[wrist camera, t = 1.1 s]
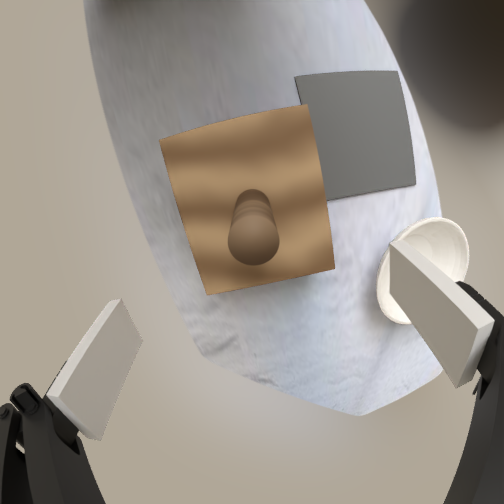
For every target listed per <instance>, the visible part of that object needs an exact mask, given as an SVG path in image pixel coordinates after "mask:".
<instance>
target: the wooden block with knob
mask: <svg viewBox="0 0 504 504" xmlns="http://www.w3.org/2000/svg"><path fill="white" fill-rule="evenodd" d="M159 142H160V146H161V150H162V154H163V157H164V161H165V165H166V168H167V172H168V175H169V179H170V182H171V186H172V189H173V193H174V196H175V199H176V203H177V206H178V209H179V213H180V216H181V219H182V222H183V225H184V229H185V232H186V235H187V238H188V241H189V244H190V247H191V250H192V253H193V256H194V259H195V262H196V265H197V268H198V271H199V274H200V277H201V280H202V282H203V285H204V288H205V291H206V294H207V295H212V294H217V293H223V292H228V291H233V290H238V289H243V288H248V287H253V286H258V285H263V284H268V283H273V282H277V281H282V280H287V279H292V278H296V277H301V276H305V275H310V274H314V273H319V272H323V271H328V270H332V269H335V263H334V254H333V245H332V237H331V229H330V222H329V215H328V208H327V202H326V195H325V189H324V183H323V177H322V172H321V166H320V161H319V156H318V151H317V146H316V141H315V136H314V131H313V127H312V122H311V118H310V113H309V109H308V105H307V104H305V105H299V106H292V107H286V108H281V109H275V110H270V111H265V112H260V113H255V114H250V115H246V116H241V117H237V118H233V119H229V120H225V121H221V122H217V123H213V124H210V125H206V126H202V127H199V128H195V129H192V130H189V131H185V132H182V133H179V134H176V135H173V136H170V137H167V138H164V139H161V140H159Z"/></svg>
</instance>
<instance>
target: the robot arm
mask: <svg viewBox="0 0 504 504" xmlns="http://www.w3.org/2000/svg"><path fill="white" fill-rule="evenodd" d="M389 250H390V288H389V293H390V295H391V296H392V297H393V299H394V300H395V301H396V302H397V304H398V305H399V306H400V308H401V309H402V310H403V312H404V313H405V314H406V316H407V317H408V318H409V320H410V321H411V323H412V324H413V325H414V327H415V328H416V329H417V331H418V332H419V334H420V335H421V336H422V338H423V339H424V341H425V342H426V344H427V345H428V346H429V348H430V349H431V351H432V352H433V354H434V355H435V357H436V358H437V360H438V361H439V363H440V364H441V366H442V367H443V369H444V370H445V372H446V373H447V375H448V376H449V378H450V380H451V381H452V383H453V384H454V386H455V388H458V387H460V386H462V385H464V384H466V383H467V382H469V381H471V380H472V379H473V376H474V374H475V372H476V370H477V369H478V371H479V372H480V374H481V377H480V379H479V381H478V383H477V385H476V387H475V389H474V391H473V394H474V395H475V393H476V391H477V396H476V402H475V407H474V411H473V417H472V421H471V425H470V429H469V433H468V437H467V440H466V444H465V447H464V451H463V454H462V457H461V460H460V463H459V466H458V469H457V472H456V474H455V477H454V480H453V482H452V485H451V487H450V490H449V492H448V494H447V497H446V499H445V501H444V503H443V504H504V317H503V315H502V314H501V313H500V312H499V311H497V310H496V309H495V308H494V307H493V306H492V305H491V304H490V303H489V302H488V301H487V300H486V299H485V300H484V298H483V297H482V296H481V295H480V294H478V292H477V291H476V290H474V288H472V287H471V286H470V285H468V284H466V283H464V282H461V281H458V282H454V281H453V280H452V279H451V278H449V277H448V276H447V275H446V274H445V273H444V272H442V271H441V270H440V269H439V268H438V267H437V266H435V265H434V264H433V263H432V262H431V261H429V260H428V259H427V258H426V257H424V256H423V255H422V254H421V253H420V252H418V251H417V250H416V249H414V248H413V247H412V246H411V245H409V244H408V243H407V242H406V241H404V240H399V241H395V242H391V243H389ZM142 342H143V340H142V338H141V336H140V334H139V332H138V331H137V329H136V327H135V325H134V323H133V321H132V319H131V317H130V315H129V313H128V311H127V309H126V307H125V305H124V303H123V301H122V299H116V300H110V301H109V303H108V304H107V305H106V306H105V308H104V309H103V311H102V312H101V313H100V315H99V316H98V317H97V319H96V320H95V321H94V323H93V324H92V326H91V327H90V329H89V330H88V331H87V333H86V334H85V336H84V337H83V339H82V340H81V341H80V343H79V344H78V346H77V347H76V349H75V350H74V352H73V353H72V355H71V356H70V358H69V359H68V360H67V361H66V362H65V364H64V365H63V367H62V368H61V371H59V373H58V374H57V378H55V379H54V381H53V382H52V384H51V386H50V387H49V389H48V391H47V392H46V394H45V396H44V397H43V399H42V398H41V397H40V396H39V395H38V394H37V392H36V391H35V390H34V389H33V387H31V385H30V384H29V383H24V384H21V385H19V386H18V387H17V388H16V389H15V390H14V391H13V392H12V394H11V396H10V401H11V402H12V403H13V404H14V405H15V407H16V408H17V409H18V410H19V411H17V410H16V408H15V407H14V406H13V405H12V404H10V403H6V404H4V405H2V407H0V504H106V503H105V501H104V499H103V497H102V495H101V492H100V490H99V488H98V485H97V483H96V480H95V478H94V475H93V473H92V470H91V467H90V465H89V462H88V459H87V456H86V453H85V450H84V447H83V444H82V441H81V439H80V438H79V437H78V436H77V433H78V431H80V432H81V433H83V434H84V435H85V436H86V437H87V438H89V439H94V440H99V441H101V439H102V436H103V434H104V431H105V428H106V426H107V423H108V421H109V418H110V416H111V413H112V411H113V408H114V406H115V403H116V401H117V398H118V396H119V394H120V391H121V389H122V387H123V384H124V382H125V380H126V377H127V375H128V373H129V370H130V368H131V366H132V364H133V361H134V359H135V357H136V354H137V352H138V350H139V348H140V346H141V344H142ZM16 442H18V444H20V445H21V446H22V447H23V448H24V449H25V454H24V453H22V452H21V451H20V450H18V449H17V448H16Z"/></svg>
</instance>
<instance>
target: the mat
mask: <svg viewBox="0 0 504 504" xmlns="http://www.w3.org/2000/svg"><path fill="white" fill-rule="evenodd" d="M295 81H296V85H297V88H298V92H299V96H300V101H301V105H305V104H307V105H308V109H309V113H310V118H311V122H312V127H313V131H314V136H315V141H316V146H317V151H318V156H319V161H320V166H321V172H322V177H323V183H324V189H325V195H326V200H331V199H336V198H341V197H347V196H352V195H357V194H363V193H368V192H374V191H380V190H385V189H391V188H397V187H403V186H409V185H416V175H415V165H414V156H413V147H412V140H411V133H410V127H409V121H408V115H407V110H406V105H405V100H404V96H403V91H402V87H401V83H400V78H399V75H398V71H349V72H333V73H322V74H312V75H304V76H296V77H295Z"/></svg>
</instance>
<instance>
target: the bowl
mask: <svg viewBox="0 0 504 504" xmlns="http://www.w3.org/2000/svg"><path fill="white" fill-rule="evenodd" d="M399 240H404V241H406V242H407V243H408V244H409V245H411V246H412V247H413V248H414V249H416V250H417V251H418V252H420V253H421V254H422V255H423V256H424V257H426V258H427V259H428V260H429V261H431V262H432V263H433V264H434V265H435V266H437V267H438V268H439V269H440V270H441V271H442V272H444V273H445V274H446V275H447V276H448V277H449V278H451V279H452V280H453V281H454V282H458V281H461V282H463V281H464V278H465V276H466V273H467V269H468V264H469V247H468V242H467V239H466V236H465V234H464V232H463V230H462V229H461V228H460V227H459V226H458V225H457V224H456V223H455V222H453V221H451V220H449V219H444V218H440V217H433V218H425V219H422V220H419V221H416V222H414V223H413V224H411V225H409V226H408V227H406V228H405V229H404V230H403V231H402V232H400V233H399V234H398V235H397V236H396V238H395V239H394V240H393V241H392V242H395V241H399ZM389 288H390V250H389V247H388V248H387V250H386V252H385V253H384V255H383V258H382V260H381V262H380V265H379V269H378V272H377V279H376V292H377V299H378V302H379V305H380V308H381V310H382V311H383V313H384V314H385V316H386V317H388V318H389V319H390V320H391V321H394V322H396V323H399V324H405V325H408V324H412V323H411V321H410V320H409V318H408V317H407V316H406V314H405V313H404V312H403V310H402V309H401V308H400V306H399V305H398V304H397V302H396V301H395V300H394V299H393V297H392V296H391V295H390V293H389Z"/></svg>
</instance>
